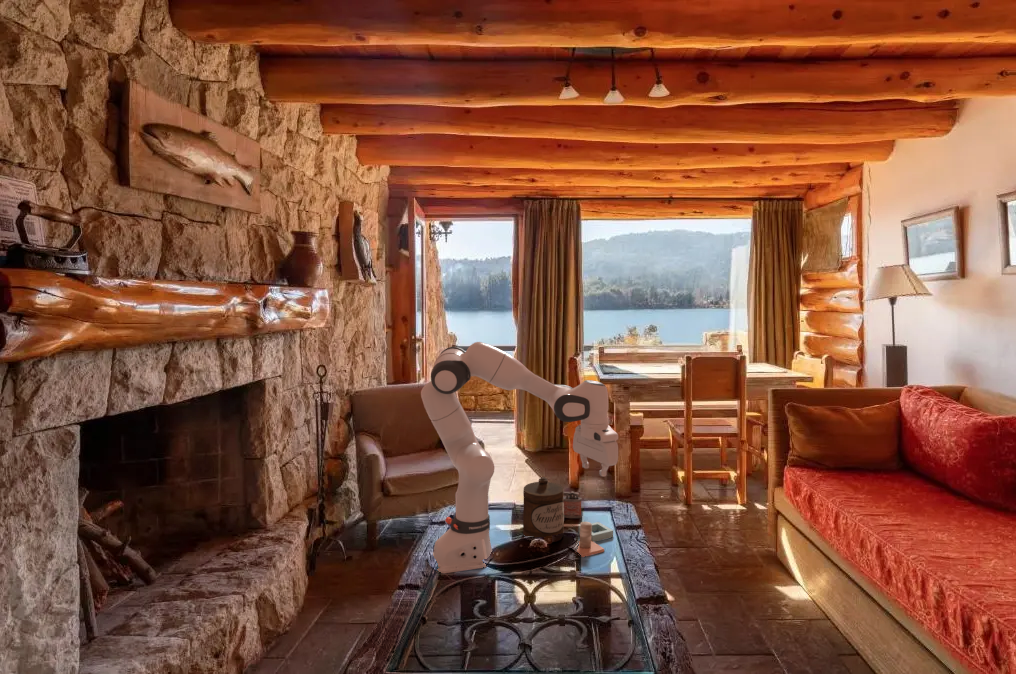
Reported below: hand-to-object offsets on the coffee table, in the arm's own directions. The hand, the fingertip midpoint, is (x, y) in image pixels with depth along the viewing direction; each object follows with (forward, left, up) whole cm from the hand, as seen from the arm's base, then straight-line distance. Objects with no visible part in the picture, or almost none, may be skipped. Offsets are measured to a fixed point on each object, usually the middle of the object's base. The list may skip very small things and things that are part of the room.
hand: (594, 471), depth 198 cm
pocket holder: (+14, +18, -31) cm, 39 cm away
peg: (+4, +10, -30) cm, 32 cm away
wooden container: (-3, +27, -31) cm, 41 cm away
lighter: (+16, +37, -31) cm, 51 cm away
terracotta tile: (+4, +10, -31) cm, 33 cm away
